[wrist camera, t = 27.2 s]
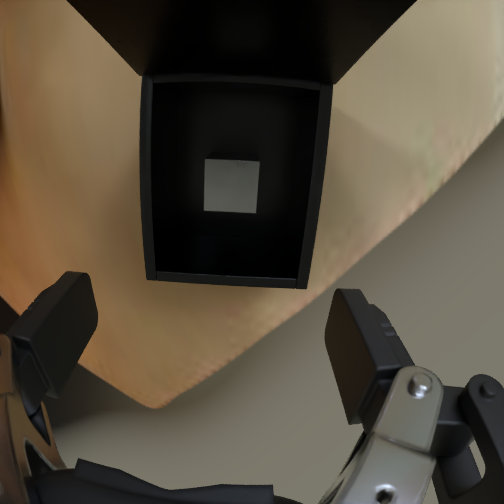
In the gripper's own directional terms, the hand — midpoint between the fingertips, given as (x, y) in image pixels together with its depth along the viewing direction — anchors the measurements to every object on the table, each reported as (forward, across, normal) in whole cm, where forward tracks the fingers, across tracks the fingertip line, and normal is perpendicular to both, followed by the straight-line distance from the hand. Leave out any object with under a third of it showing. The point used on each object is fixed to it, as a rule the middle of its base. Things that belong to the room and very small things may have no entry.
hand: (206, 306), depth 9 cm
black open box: (+22, 0, -1) cm, 22 cm away
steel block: (+21, 0, 0) cm, 21 cm away
